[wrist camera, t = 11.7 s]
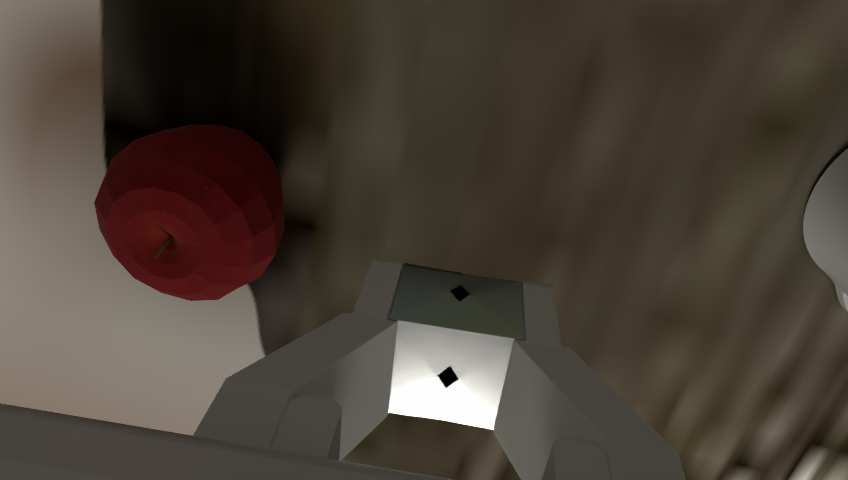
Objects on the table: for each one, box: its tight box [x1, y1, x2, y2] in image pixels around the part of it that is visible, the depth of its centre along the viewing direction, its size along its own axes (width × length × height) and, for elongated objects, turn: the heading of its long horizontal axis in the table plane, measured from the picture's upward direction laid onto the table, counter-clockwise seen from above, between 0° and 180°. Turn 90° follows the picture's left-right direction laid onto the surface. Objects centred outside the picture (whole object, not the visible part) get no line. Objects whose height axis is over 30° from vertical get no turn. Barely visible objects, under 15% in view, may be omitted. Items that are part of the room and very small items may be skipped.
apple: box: [94, 124, 285, 301], centre depth 42 cm, size 12×12×13 cm
